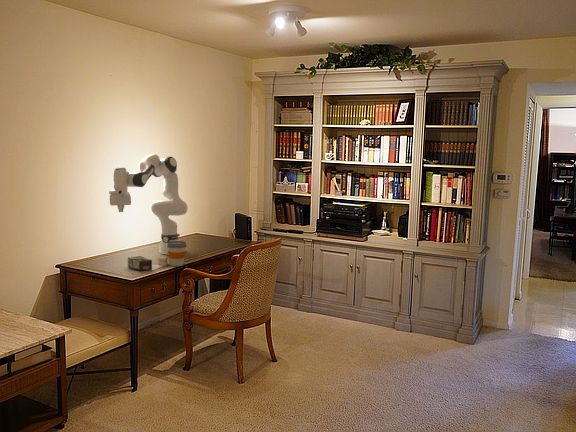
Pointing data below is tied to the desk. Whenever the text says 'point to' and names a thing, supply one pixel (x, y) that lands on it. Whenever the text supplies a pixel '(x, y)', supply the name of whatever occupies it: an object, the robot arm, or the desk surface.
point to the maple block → (162, 260)
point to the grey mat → (156, 267)
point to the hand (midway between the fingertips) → (121, 212)
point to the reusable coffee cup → (176, 252)
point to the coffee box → (139, 263)
